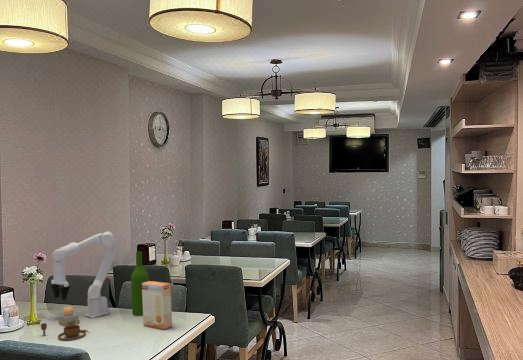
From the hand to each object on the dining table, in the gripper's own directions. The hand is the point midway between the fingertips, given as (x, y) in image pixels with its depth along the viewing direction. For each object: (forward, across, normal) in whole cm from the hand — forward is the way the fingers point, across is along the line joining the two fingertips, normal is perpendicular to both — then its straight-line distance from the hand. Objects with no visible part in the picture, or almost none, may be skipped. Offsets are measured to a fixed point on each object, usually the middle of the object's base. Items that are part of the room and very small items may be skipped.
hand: (60, 298), depth 254 cm
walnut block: (+11, +12, -2) cm, 16 cm away
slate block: (+8, +12, -2) cm, 15 cm away
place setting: (+11, +27, -11) cm, 31 cm away
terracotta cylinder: (+6, +12, -2) cm, 13 cm away
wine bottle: (+11, +27, +30) cm, 42 cm away
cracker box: (+11, +52, +22) cm, 57 cm away
